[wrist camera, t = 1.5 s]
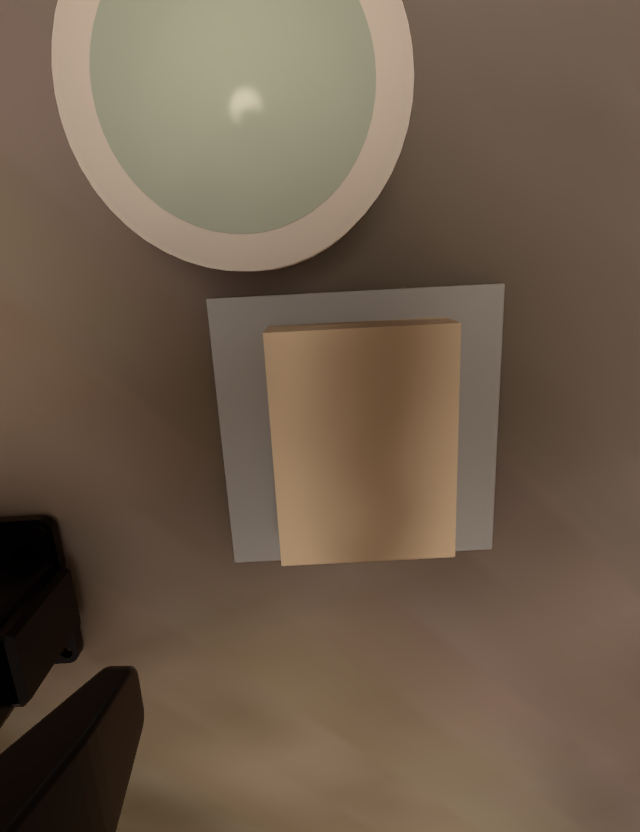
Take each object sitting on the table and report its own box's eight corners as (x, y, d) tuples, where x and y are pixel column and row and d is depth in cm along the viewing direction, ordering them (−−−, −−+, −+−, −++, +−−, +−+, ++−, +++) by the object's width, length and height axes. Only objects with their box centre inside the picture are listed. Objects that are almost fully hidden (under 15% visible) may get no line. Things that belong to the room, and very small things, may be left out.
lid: (284, 536, 19) (281, 566, 18) (268, 326, 17) (262, 333, 15) (440, 528, 19) (454, 557, 18) (444, 317, 17) (461, 322, 15)
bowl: (142, 277, 17) (84, 279, 13) (101, -17, 15) (13, -137, 11) (388, 264, 17) (414, 262, 13) (384, -31, 15) (415, -158, 11)
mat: (236, 554, 20) (234, 562, 20) (209, 298, 18) (205, 299, 17) (486, 541, 20) (491, 549, 20) (498, 282, 18) (504, 283, 17)
